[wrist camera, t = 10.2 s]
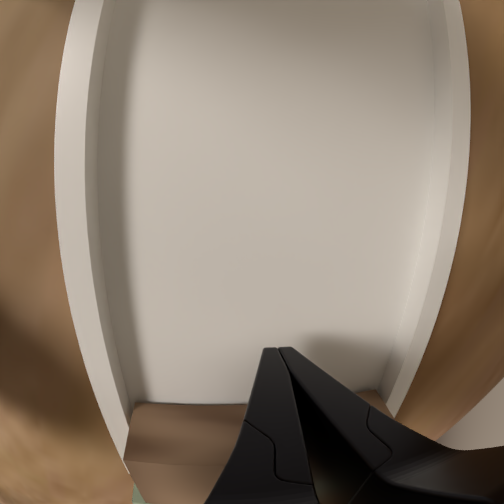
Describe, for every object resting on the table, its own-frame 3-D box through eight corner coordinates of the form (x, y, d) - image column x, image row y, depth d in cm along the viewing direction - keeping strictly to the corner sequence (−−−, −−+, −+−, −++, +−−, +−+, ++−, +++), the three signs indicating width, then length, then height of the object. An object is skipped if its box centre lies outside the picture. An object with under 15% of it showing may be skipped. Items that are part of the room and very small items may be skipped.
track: (138, 458, 14) (131, 514, 10) (112, -39, 6) (81, -95, 2) (354, 446, 15) (376, 493, 12) (429, 5, 8) (489, -21, 4)
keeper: (150, 453, 12) (145, 502, 9) (134, 402, 11) (122, 459, 8) (353, 440, 13) (372, 482, 10) (375, 389, 12) (404, 434, 9)
